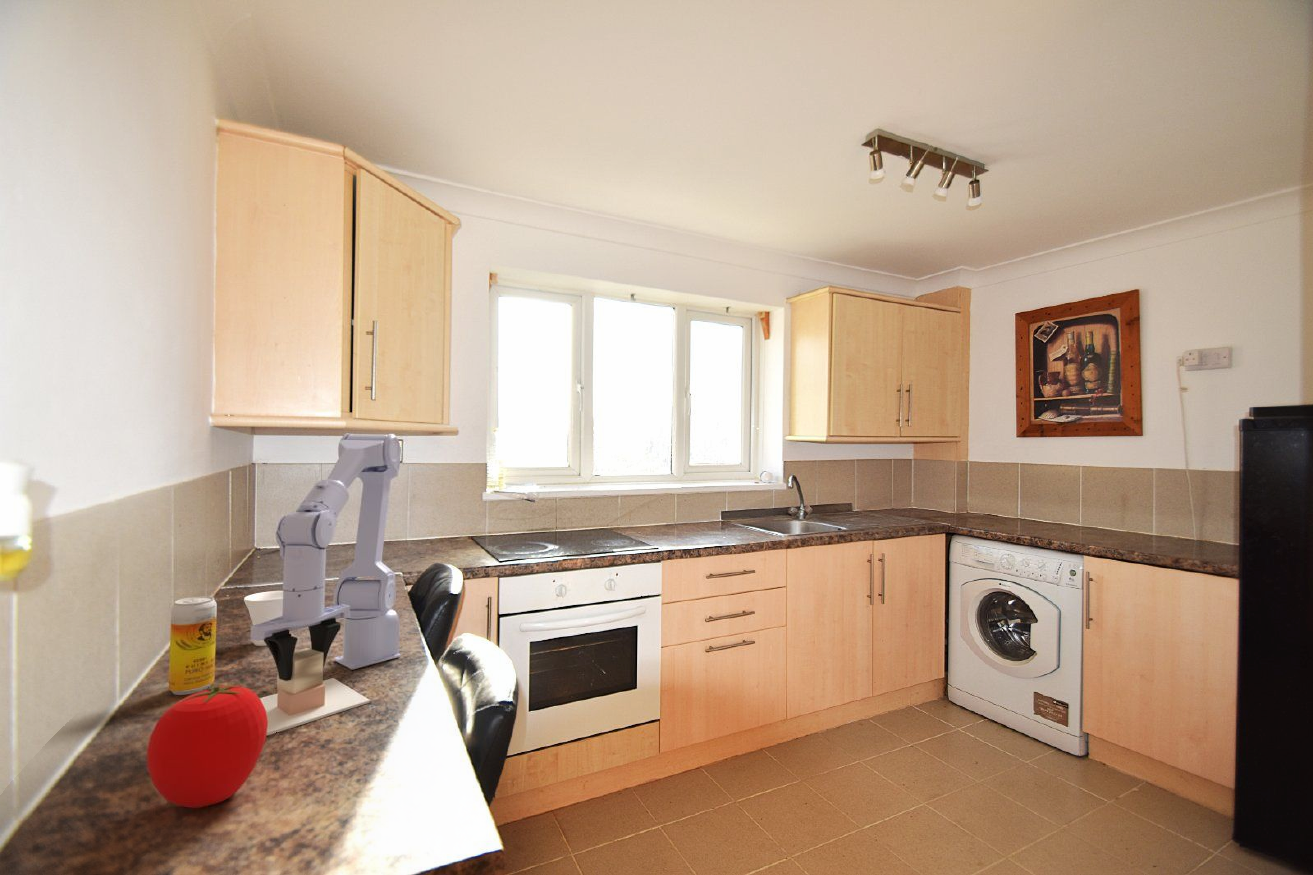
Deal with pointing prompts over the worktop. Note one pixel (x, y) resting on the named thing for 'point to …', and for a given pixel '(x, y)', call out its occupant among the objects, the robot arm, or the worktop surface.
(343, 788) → the worktop surface
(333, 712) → the build mat
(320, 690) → the terracotta block
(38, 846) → the worktop surface
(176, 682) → the beer can
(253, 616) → the cup
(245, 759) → the tomato
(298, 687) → the maple block
